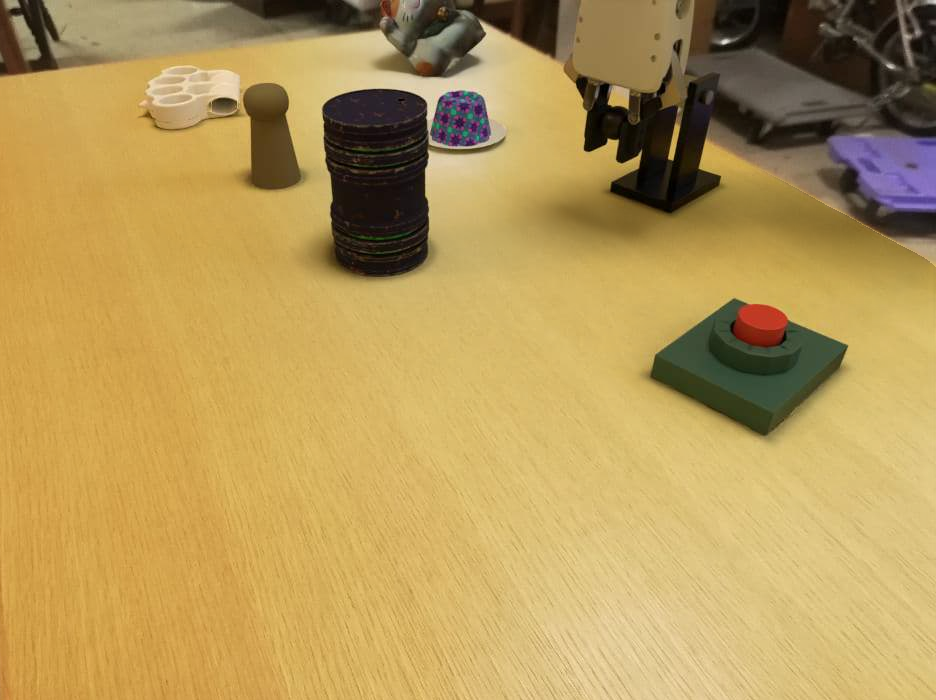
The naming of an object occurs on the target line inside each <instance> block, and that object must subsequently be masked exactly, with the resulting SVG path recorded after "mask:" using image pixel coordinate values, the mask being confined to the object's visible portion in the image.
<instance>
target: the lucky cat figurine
mask: <svg viewBox="0 0 936 700" xmlns="http://www.w3.org/2000/svg"><path fill="white" fill-rule="evenodd" d="M379 6H380V22H379V28H380V30H381V33H382V34H383V36H384V37H385V39H386V40H387V41H388V43H390V44H391V45H392V46H393V48H394V49H396V50H397V51H398V52H399V53H400V54H401V55H403V57H405V59H406V60H407V61H409V62H410V63H411V64H412V66H413V68H414V70H415V71H416V72H417V73H418V74H420V75H422V76H423V77H425V76H428V77H442V76H443V74H444V73H447V72H449V71H450V70H451V69H452V68H453V69H454V67H455V66H457V65H458V64H459V62H460V61H462V59H463V58H464V57H465V56H466V55H467V54H468V53H470V52H471V51H472V50H473V49H474V48H475V47H476V46H478V45H479V44H480V43H481V42H482V41H483V40H484V38H485V37H486V35H487V32H486V31H485V29H484V27H483V25H482V24H481V22H480V20H479V18H478V17H477V16H476V15H475V14H474V13H473V12H471V11H469V10H467V9H456V4H455V1H454V0H382V1H380V3H379Z"/></svg>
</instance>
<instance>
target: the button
mask: <svg viewBox="0 0 936 700" xmlns="http://www.w3.org/2000/svg"><path fill="white" fill-rule="evenodd" d="M748 304H749V305H746V306H743V307H742V308H741V309H740V310H739V312H738V315H737V318H736V321H735V325H734V328H733V333H734V335H735V337H736V338H737V339H738V340H741V341H743V342H745V343H747V344H750V345H752V346H759V347H765V348H767V347H773V346H776V345H778V344H779V343H780V342H781V340H782V338H783V335H784V332H785V329H786V326H787V323H788V320H789V319H788V316H787V315H786V314H785V313H784V312H783V311H782V310H780V309H778V308H777V307H775V306H772V305H768V304H764V303H763V304H762V303H748Z"/></svg>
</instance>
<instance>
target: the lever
mask: <svg viewBox="0 0 936 700" xmlns="http://www.w3.org/2000/svg"><path fill="white" fill-rule="evenodd" d="M683 78H684V82H685V86H686V90H687V91H688V86H689V82H691V81H693V80H696V79H698V78H699V77H698V76H693V75H689V74H685V75H684V76H683ZM684 105H685V100H684V101H682V102H680V103H678V104H675V105H673V106H677V107H678V108H679V109H680V108H681V109H684ZM663 109H664V108H663ZM626 121H628V108H627V107H625V106H623V105H614V106H613V105H612V107H611V108H609V109H607V110H606V111H605V112H604V113H603V115H602V117H601V119H600V130H601V132H602V134H603V135H604V136H605V137H606V138H608V140H611V141H619V136H620V130H621V125H622V123H624V122H626Z"/></svg>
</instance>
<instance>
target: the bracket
mask: <svg viewBox="0 0 936 700" xmlns="http://www.w3.org/2000/svg"><path fill="white" fill-rule="evenodd" d="M686 72H687V65H686V69H685V73H684V75H686ZM720 78H721V74H720V73H717V72H713V71H712V72H709V73H707V74H705V75H703V76H701V77H698V79H696V80H693V81H691V82H689V86H688V91H687V99H686V100H685V105H684V108H683V111H682V116H681V121H680V124H679V130H678V135H677V139H676V145H675V149H674V155H673V159H669V156H670V152H671V151H670V150H671V146H672V141H673V135H674V133H675V132H674V131H675V126H676V121H677V117H678V111H679V107H677V106H673V105H672V106H669V107H666V108H664V109H662V110H660V111H659V112H657V113H656V114H655V115H654V116H653V117H651V118H649V119H648V122H647V128H646V133H645V138H644V144H643V148H642V150H641V152H640V153H641V154H640V158H639V164H638V168H636V169H635V170H632V171H630V172H629V173H626V174H624V175H622V176H621V177H618V178H617V179H615V180H612V181H611V182H610V189H609V192H610V193H612V194H616V195H617V196H621V197H624V198H626V199H629V200H632V201H634V202H637V203H641V204H643V205H646V206H648V207H651V208H654V209H656V210H659V211H663V212H665V213H667V214H672V213H674V212H676V211H678V210H679V209H681V208H682V207H684V206H686V205H688V204H690V203H691V202H693V201H695V200H696V199H699V198H700V197H702V196H704V195H705V194H707V193H710V191H713V190H714V189H715V188H717V187H719V186H720V183H721V179H722V175H720V174H716V173H713V172H710V171H707V170H705V169H701V168H700V165H701V161H702V156H703V151H704V147H705V143H706V139H707V134H708V129H709V126H710V121H711V116H712V112H713V109H714V103H715V99H716V95H717V90H718V86H719V82H720ZM664 93H665V84H664V83H661V86H660V88H659V89H658V90H657V95H656V96H658V95H661V94H664Z"/></svg>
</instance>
